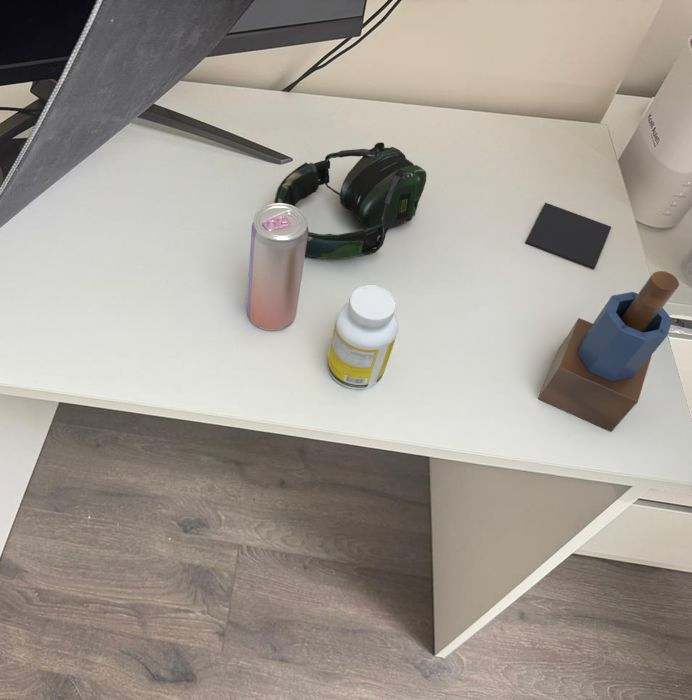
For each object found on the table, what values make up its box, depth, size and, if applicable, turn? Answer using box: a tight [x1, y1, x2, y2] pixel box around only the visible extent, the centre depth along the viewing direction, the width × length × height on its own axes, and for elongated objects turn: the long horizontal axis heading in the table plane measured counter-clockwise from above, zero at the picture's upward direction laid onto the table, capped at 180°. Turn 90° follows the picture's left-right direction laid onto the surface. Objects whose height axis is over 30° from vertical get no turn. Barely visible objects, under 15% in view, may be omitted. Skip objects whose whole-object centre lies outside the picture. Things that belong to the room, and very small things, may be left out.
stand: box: [537, 270, 680, 432], centre depth 72 cm, size 8×8×18 cm
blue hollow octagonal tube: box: [577, 291, 673, 382], centre depth 72 cm, size 6×6×7 cm
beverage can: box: [246, 202, 309, 332], centre depth 79 cm, size 6×6×15 cm
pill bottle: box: [326, 284, 399, 390], centre depth 76 cm, size 6×6×12 cm
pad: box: [524, 202, 612, 270], centre depth 94 cm, size 9×9×1 cm
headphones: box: [273, 142, 427, 260], centre depth 92 cm, size 13×13×20 cm
